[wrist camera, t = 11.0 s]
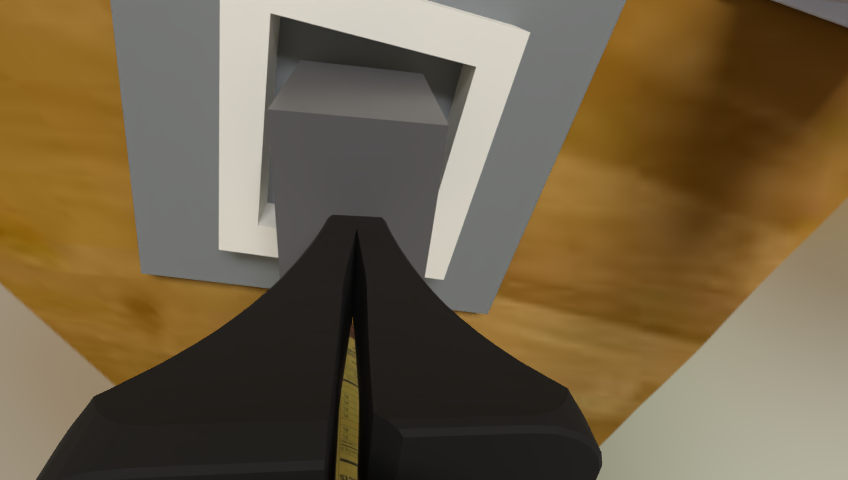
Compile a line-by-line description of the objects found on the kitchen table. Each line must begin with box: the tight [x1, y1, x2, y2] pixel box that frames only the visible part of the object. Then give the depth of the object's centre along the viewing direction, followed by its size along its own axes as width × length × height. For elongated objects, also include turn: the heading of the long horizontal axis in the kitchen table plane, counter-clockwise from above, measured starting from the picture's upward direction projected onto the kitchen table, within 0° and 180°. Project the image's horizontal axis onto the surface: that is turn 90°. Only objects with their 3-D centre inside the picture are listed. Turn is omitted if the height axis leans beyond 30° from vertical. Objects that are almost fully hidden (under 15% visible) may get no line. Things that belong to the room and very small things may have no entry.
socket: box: [110, 0, 626, 314], centre depth 18 cm, size 18×18×3 cm
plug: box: [268, 60, 449, 280], centre depth 15 cm, size 4×5×7 cm
